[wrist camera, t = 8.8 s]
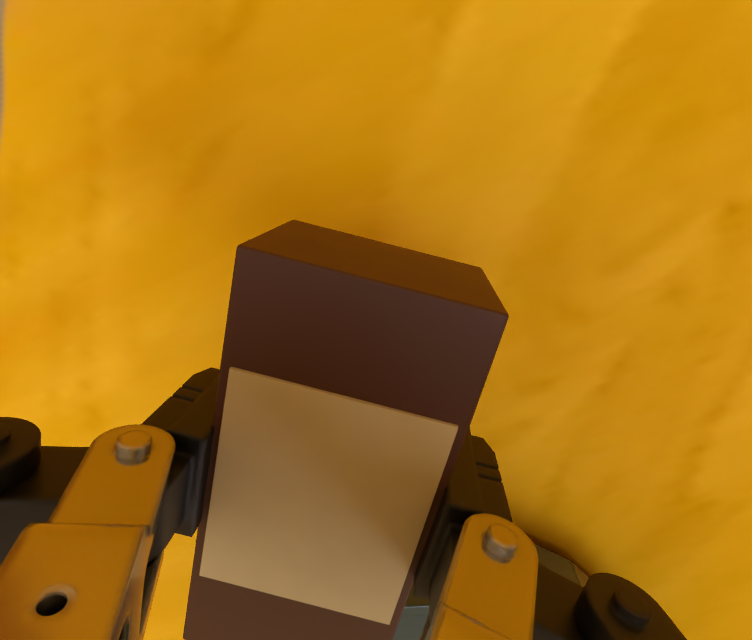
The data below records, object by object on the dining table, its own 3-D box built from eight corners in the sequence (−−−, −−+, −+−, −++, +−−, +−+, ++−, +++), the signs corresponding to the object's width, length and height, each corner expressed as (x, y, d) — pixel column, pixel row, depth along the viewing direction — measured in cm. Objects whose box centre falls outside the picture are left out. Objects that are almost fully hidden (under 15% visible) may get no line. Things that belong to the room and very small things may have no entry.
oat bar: (292, 218, 10) (234, 245, 7) (482, 267, 10) (511, 316, 7) (238, 525, 13) (179, 643, 10) (385, 563, 13) (375, 694, 10)
